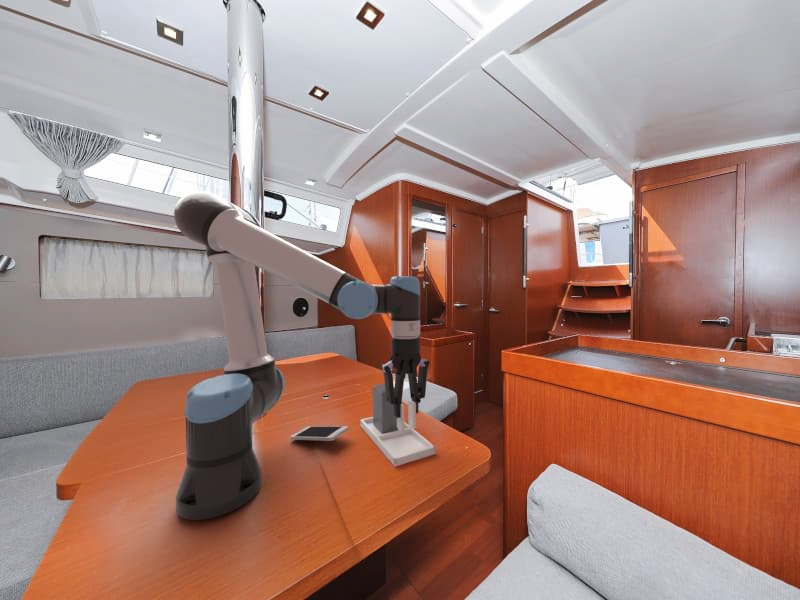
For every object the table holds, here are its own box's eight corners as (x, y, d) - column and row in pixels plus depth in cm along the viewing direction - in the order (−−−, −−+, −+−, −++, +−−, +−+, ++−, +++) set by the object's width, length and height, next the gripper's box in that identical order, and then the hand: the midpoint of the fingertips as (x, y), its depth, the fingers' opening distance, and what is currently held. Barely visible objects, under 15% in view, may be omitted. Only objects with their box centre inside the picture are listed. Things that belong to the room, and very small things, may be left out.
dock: (394, 466, 66) (394, 412, 66) (360, 425, 88) (359, 384, 88) (435, 453, 72) (435, 403, 71) (393, 417, 93) (393, 379, 93)
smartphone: (332, 441, 73) (331, 437, 73) (289, 439, 79) (289, 436, 79) (349, 429, 79) (348, 425, 79) (308, 429, 86) (308, 425, 86)
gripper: (383, 341, 66) (384, 441, 66) (439, 336, 73) (440, 426, 73) (371, 337, 72) (372, 428, 73) (424, 333, 80) (424, 416, 80)
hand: (406, 427), depth 73 cm, fingers open, 3 cm apart
